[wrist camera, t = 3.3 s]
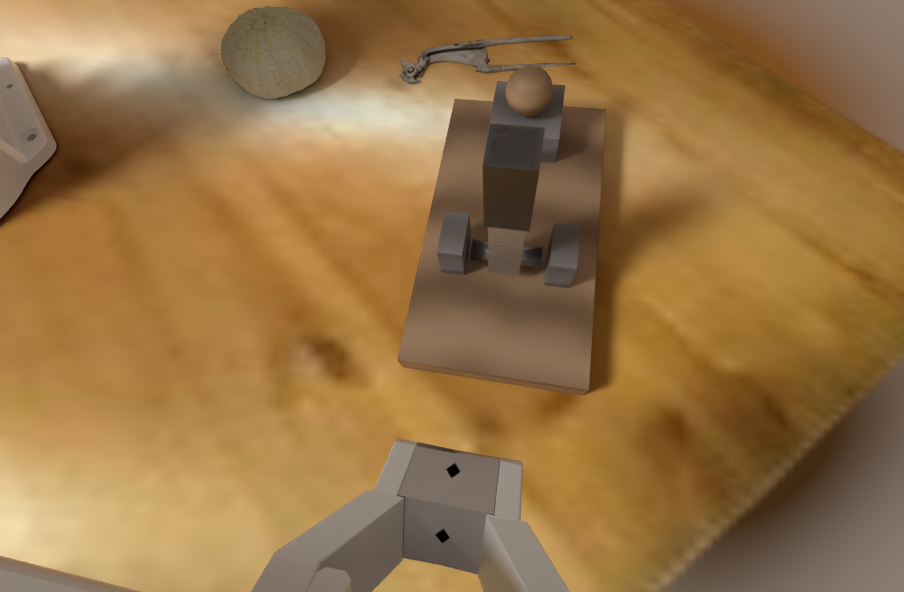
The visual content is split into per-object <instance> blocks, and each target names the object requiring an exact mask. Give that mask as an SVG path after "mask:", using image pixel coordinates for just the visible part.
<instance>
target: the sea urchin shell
mask: <svg viewBox="0 0 904 592" xmlns="http://www.w3.org/2000/svg"><path fill="white" fill-rule="evenodd" d="M221 47H222V49H221V51H222V52H221V55H222V59H223V62H224V65H225V66H226V68H227V71H228V72H229V75H230V76H231V77H232V79H233V80H234V81H236V82H237V83H238V84H239V85H240V86H241V87H242V88H243V89H244V91H247V92H248V93H251V94H253V95H255V96H257V97H260V98H263V99H264V98H265V99H276V98H279V97H284V96H288V95H289V94H291V93H294V92H296V91H301V90H303V89H304V88H306V87H307V86H309V85H311V84H313V83H315V82H316V80H317V79H318V78H319V77H320V75H321V74H322V71H323V67H324V64H325V60H326V59H325V58H326V52H325V47H326V43H325V39H324V38H323V35H322V33H321V31H320V29H319V27H318V25H317V24H316V23H315V21H314V20H313V18H311V17H310V16H308V15H307V14H305V13H303V12H301V11H299V10H294V9H292V8H291V9H289V8H286V7H270V6H269V7H268V6H266V7H264V8H254V9H251V10H248V11H247V12H245V13H244V14H242V15H239V16H238V19H236V21H235V22H233V24H231V25H230V27H229V28H228V31H227V33H226V34H225V35H224V37H223V39H222V46H221Z"/></svg>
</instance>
